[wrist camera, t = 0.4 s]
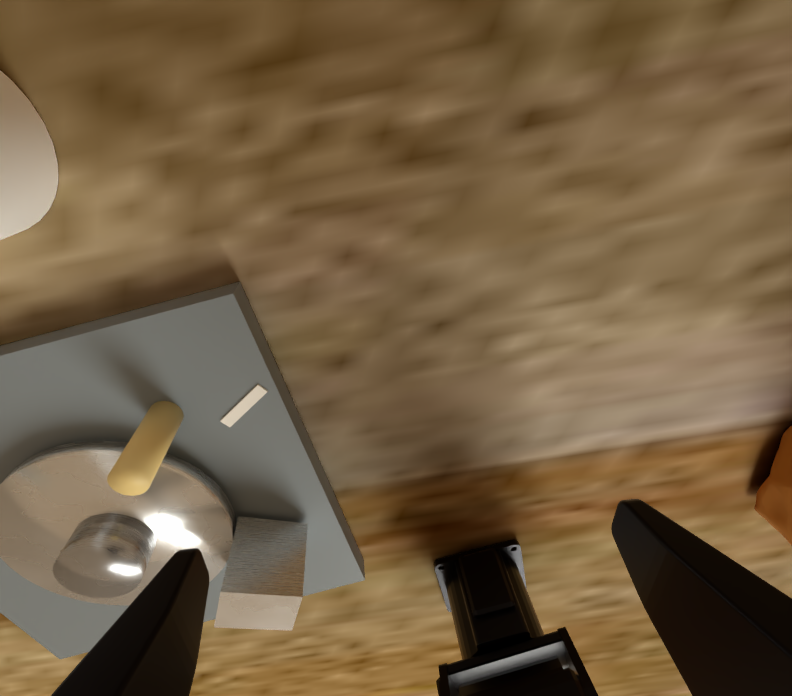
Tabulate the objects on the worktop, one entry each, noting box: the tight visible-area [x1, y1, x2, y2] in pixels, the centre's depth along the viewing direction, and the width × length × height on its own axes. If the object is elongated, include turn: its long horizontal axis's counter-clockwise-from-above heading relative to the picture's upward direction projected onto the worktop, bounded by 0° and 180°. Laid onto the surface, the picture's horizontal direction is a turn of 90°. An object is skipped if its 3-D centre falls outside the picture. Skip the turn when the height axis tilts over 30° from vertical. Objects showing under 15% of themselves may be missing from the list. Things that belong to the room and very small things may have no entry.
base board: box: [0, 282, 365, 659], centre depth 23 cm, size 22×22×6 cm
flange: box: [0, 441, 308, 630], centre depth 22 cm, size 12×15×4 cm
